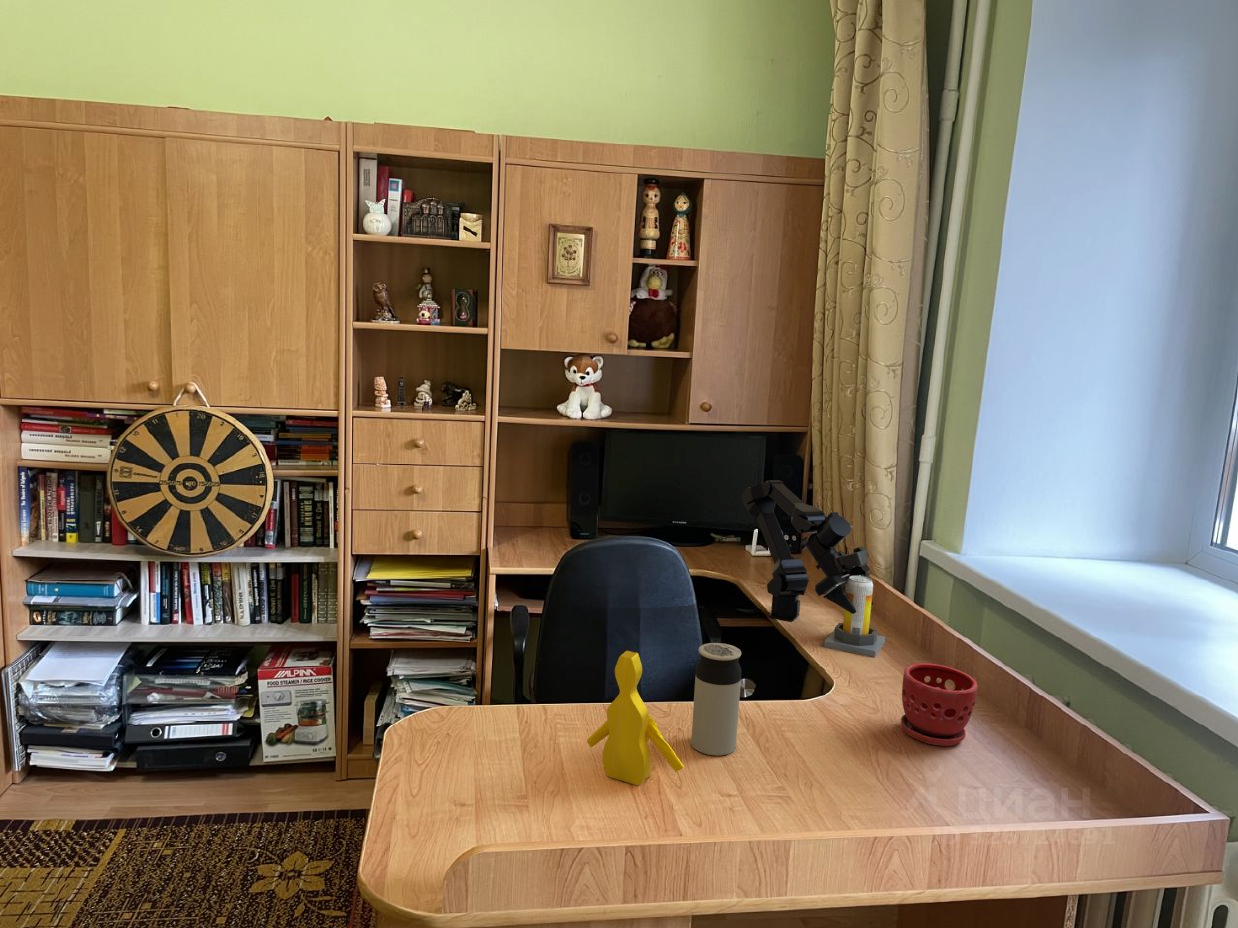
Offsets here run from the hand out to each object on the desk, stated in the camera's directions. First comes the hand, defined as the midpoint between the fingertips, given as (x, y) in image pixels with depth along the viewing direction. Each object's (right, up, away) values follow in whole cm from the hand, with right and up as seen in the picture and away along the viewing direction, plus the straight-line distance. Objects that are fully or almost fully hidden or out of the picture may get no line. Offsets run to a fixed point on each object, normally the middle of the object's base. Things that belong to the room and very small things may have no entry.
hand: (863, 608), depth 211 cm
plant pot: (+1, -17, -45) cm, 48 cm away
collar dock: (-1, -9, +2) cm, 9 cm away
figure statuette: (-57, -17, -66) cm, 89 cm away
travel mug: (-42, -16, -54) cm, 70 cm away
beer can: (-1, -8, +2) cm, 8 cm away
